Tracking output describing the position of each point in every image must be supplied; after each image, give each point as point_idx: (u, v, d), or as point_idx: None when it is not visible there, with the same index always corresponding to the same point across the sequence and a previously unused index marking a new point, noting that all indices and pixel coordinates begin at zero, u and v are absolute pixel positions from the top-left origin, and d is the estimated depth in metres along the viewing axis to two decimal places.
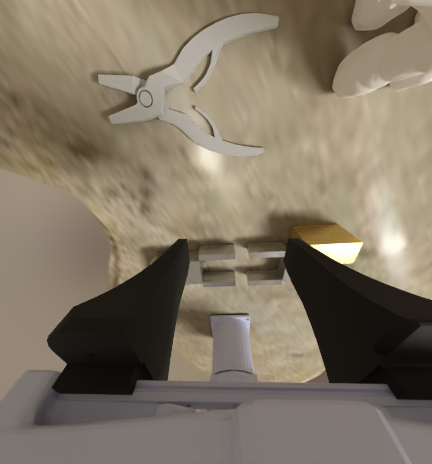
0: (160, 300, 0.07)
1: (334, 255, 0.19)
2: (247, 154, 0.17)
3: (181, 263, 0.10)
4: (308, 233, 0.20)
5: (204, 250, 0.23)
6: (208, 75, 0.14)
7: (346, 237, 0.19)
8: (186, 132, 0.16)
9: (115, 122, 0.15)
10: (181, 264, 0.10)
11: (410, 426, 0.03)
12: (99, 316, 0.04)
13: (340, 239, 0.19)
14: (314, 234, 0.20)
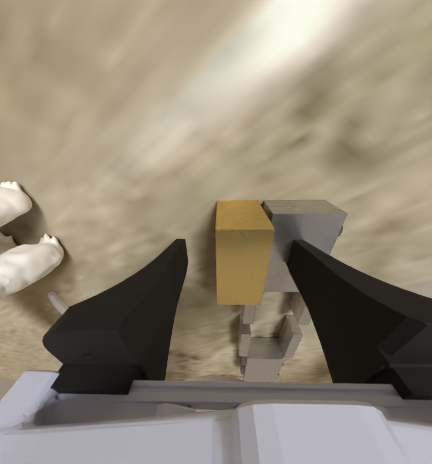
0: (157, 300, 0.07)
1: (244, 268, 0.09)
2: None
3: (179, 263, 0.10)
4: None
5: (238, 344, 0.20)
6: None
7: None
8: None
9: None
10: (178, 264, 0.10)
11: (410, 426, 0.03)
12: (95, 316, 0.04)
13: None
14: None
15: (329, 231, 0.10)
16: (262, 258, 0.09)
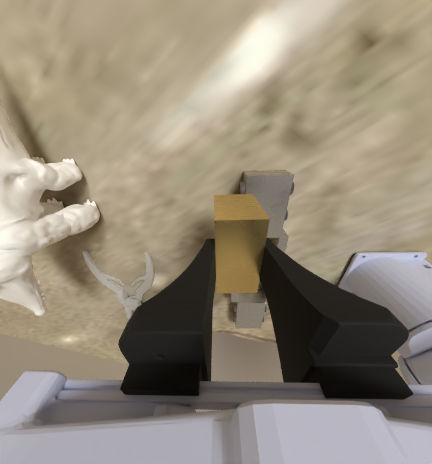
0: (209, 300, 0.07)
1: (242, 256, 0.10)
2: (150, 263, 0.24)
3: (214, 263, 0.10)
4: None
5: (230, 293, 0.25)
6: (116, 280, 0.26)
7: None
8: (145, 291, 0.27)
9: None
10: (214, 264, 0.10)
11: (410, 426, 0.03)
12: (171, 316, 0.04)
13: None
14: None
15: (284, 188, 0.16)
16: (258, 247, 0.10)
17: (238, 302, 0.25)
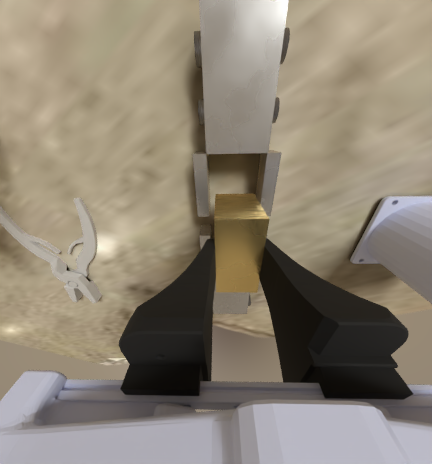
0: (209, 300, 0.07)
1: (241, 256, 0.10)
2: (85, 215, 0.16)
3: (214, 263, 0.10)
4: None
5: None
6: (44, 244, 0.18)
7: None
8: (88, 261, 0.20)
9: (95, 300, 0.22)
10: (214, 264, 0.10)
11: (410, 426, 0.03)
12: (171, 316, 0.04)
13: None
14: None
15: (272, 31, 0.08)
16: (258, 246, 0.10)
17: None
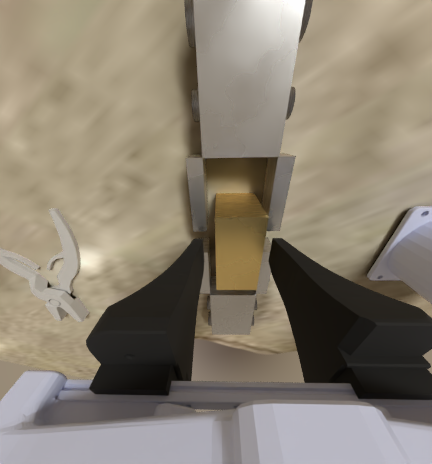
0: (186, 300, 0.07)
1: (241, 253, 0.10)
2: (64, 228, 0.14)
3: (199, 263, 0.10)
4: None
5: None
6: (19, 259, 0.16)
7: None
8: (71, 277, 0.17)
9: (81, 319, 0.20)
10: (199, 264, 0.10)
11: (410, 426, 0.03)
12: (138, 316, 0.04)
13: None
14: None
15: None
16: (257, 244, 0.10)
17: (211, 294, 0.15)
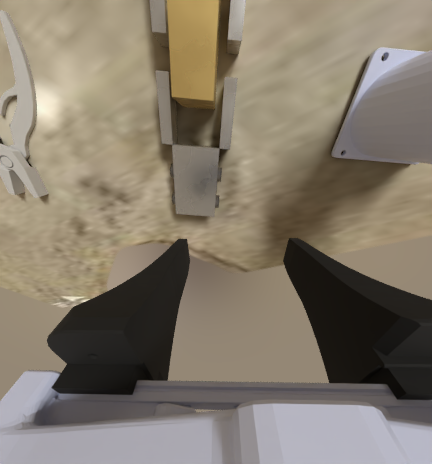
0: (160, 300, 0.07)
1: (195, 27, 0.10)
2: (16, 43, 0.13)
3: (181, 263, 0.10)
4: None
5: None
6: None
7: None
8: (26, 130, 0.16)
9: (37, 194, 0.19)
10: (181, 264, 0.10)
11: (410, 426, 0.03)
12: (99, 316, 0.04)
13: None
14: None
15: None
16: (211, 11, 0.09)
17: (174, 145, 0.15)
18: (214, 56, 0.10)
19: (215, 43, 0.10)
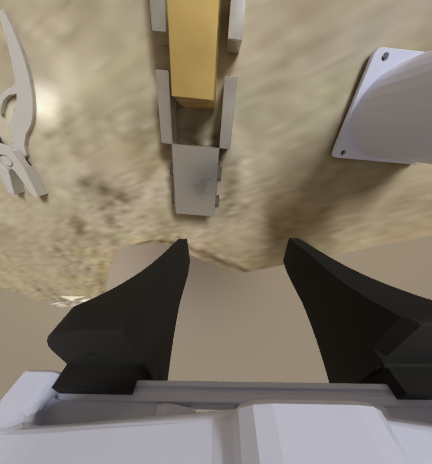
0: (160, 300, 0.07)
1: (195, 26, 0.10)
2: (15, 42, 0.13)
3: (181, 263, 0.10)
4: None
5: None
6: None
7: None
8: (25, 129, 0.16)
9: (37, 193, 0.19)
10: (180, 264, 0.10)
11: (410, 426, 0.03)
12: (99, 316, 0.04)
13: None
14: None
15: None
16: (211, 10, 0.09)
17: (174, 144, 0.15)
18: (214, 55, 0.10)
19: (215, 42, 0.10)
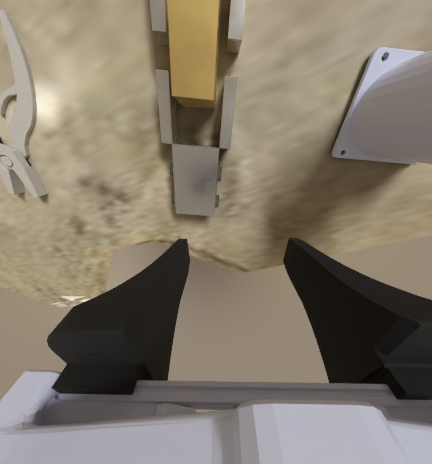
0: (160, 300, 0.07)
1: (195, 26, 0.10)
2: (15, 42, 0.13)
3: (181, 263, 0.10)
4: None
5: None
6: None
7: None
8: (25, 129, 0.16)
9: (37, 193, 0.19)
10: (180, 264, 0.10)
11: (410, 426, 0.03)
12: (99, 316, 0.04)
13: None
14: None
15: None
16: (211, 10, 0.09)
17: (174, 144, 0.15)
18: (214, 55, 0.10)
19: (215, 42, 0.10)
